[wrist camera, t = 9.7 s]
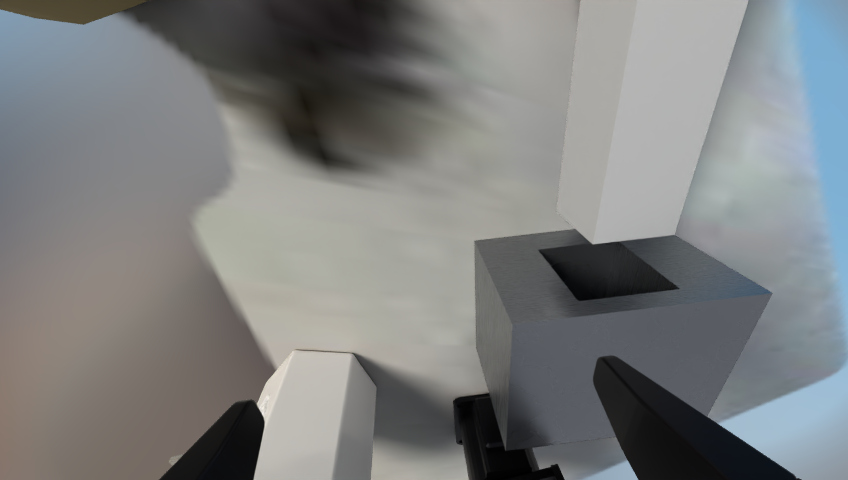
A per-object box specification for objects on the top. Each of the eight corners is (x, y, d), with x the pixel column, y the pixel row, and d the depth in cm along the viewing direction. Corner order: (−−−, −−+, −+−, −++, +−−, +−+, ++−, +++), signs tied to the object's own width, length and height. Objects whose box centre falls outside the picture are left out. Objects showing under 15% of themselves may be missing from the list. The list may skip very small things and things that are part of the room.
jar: (306, 329, 24) (233, 535, 13) (394, 371, 27) (391, 569, 16) (251, 395, 27) (156, 607, 16) (336, 427, 30) (302, 625, 19)
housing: (620, 330, 26) (702, 425, 19) (476, 348, 26) (505, 450, 19) (650, 220, 22) (772, 293, 15) (474, 240, 21) (512, 324, 14)
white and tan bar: (631, 193, 19) (732, 246, 13) (522, 205, 19) (577, 264, 13) (707, -143, 13) (974, -328, 7) (543, -128, 12) (670, -304, 7)
